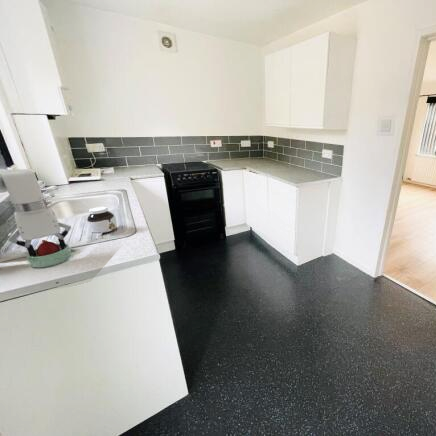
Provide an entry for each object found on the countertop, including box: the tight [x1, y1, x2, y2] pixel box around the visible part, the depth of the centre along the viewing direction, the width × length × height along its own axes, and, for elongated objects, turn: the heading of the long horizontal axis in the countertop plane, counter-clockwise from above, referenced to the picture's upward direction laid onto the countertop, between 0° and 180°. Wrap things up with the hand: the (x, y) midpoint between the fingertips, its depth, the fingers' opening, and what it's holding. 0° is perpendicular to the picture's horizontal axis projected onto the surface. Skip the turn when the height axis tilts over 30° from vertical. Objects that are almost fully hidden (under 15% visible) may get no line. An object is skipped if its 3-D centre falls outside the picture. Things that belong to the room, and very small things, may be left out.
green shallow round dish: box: [26, 242, 72, 269], centre depth 90 cm, size 11×11×4 cm
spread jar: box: [86, 206, 118, 236], centre depth 116 cm, size 12×11×12 cm
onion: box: [36, 239, 60, 256], centre depth 90 cm, size 6×6×8 cm
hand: (49, 251), depth 90 cm, fingers open, 7 cm apart
